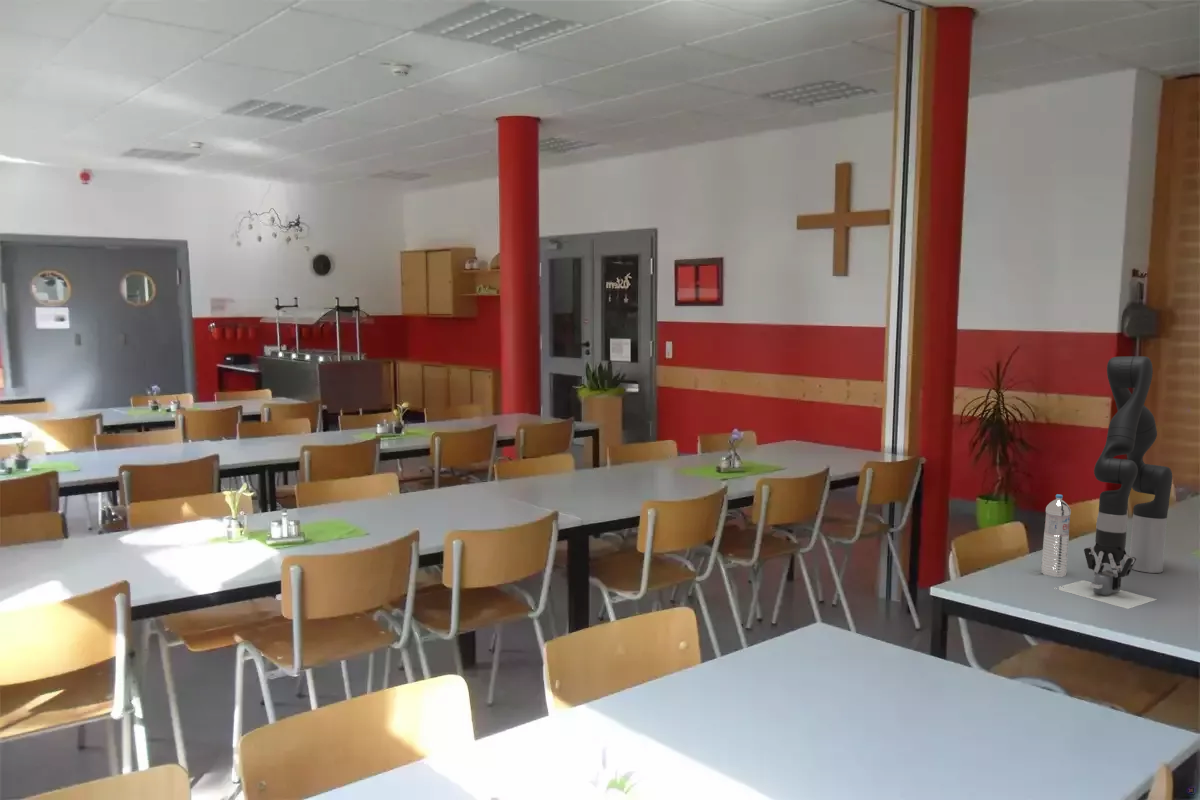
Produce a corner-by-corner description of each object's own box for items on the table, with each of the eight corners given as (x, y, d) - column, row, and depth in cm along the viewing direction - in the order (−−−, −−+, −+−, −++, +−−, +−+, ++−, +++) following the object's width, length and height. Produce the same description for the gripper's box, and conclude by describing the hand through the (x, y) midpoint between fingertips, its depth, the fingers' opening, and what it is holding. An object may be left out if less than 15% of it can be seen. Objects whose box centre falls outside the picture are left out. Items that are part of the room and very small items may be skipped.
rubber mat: (1082, 582, 274) (1082, 580, 274) (1157, 601, 257) (1157, 599, 257) (1052, 590, 265) (1052, 588, 265) (1127, 610, 248) (1127, 608, 248)
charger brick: (1108, 586, 266) (1110, 569, 265) (1123, 589, 263) (1124, 572, 262) (1086, 592, 259) (1087, 575, 259) (1100, 596, 256) (1102, 579, 256)
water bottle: (1052, 579, 276) (1058, 497, 274) (1036, 572, 283) (1041, 493, 281) (1071, 578, 278) (1077, 496, 276) (1054, 571, 285) (1060, 492, 282)
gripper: (1144, 532, 256) (1139, 592, 258) (1093, 521, 268) (1089, 579, 269) (1130, 535, 252) (1125, 596, 254) (1079, 524, 264) (1075, 583, 265)
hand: (1107, 587), depth 261 cm, fingers closed on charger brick, 4 cm apart
